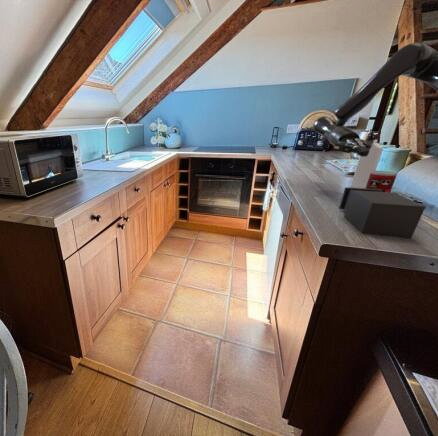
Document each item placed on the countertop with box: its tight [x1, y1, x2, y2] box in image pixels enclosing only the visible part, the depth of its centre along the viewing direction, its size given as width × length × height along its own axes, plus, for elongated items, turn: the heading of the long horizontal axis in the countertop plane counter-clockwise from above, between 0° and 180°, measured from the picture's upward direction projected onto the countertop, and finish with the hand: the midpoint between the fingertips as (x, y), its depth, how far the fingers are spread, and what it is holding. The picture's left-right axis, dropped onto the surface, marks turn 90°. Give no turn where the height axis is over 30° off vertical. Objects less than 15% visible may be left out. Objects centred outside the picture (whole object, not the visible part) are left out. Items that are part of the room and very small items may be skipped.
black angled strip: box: [338, 187, 383, 212], centre depth 83 cm, size 17×10×8 cm, turn 161°
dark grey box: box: [343, 190, 426, 239], centre depth 74 cm, size 14×12×10 cm
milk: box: [350, 139, 385, 189], centre depth 113 cm, size 6×6×22 cm
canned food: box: [365, 170, 398, 192], centre depth 100 cm, size 8×8×11 cm
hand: (365, 153), depth 84 cm, fingers closed
